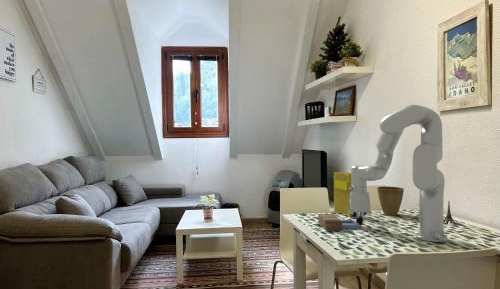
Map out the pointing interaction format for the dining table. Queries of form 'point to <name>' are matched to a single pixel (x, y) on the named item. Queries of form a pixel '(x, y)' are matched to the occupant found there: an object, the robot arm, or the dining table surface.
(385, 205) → the plant pot
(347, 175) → the book
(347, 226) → the blue tray
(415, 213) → the dining table surface
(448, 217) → the eiffel tower figurine
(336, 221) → the brown rectangular block
